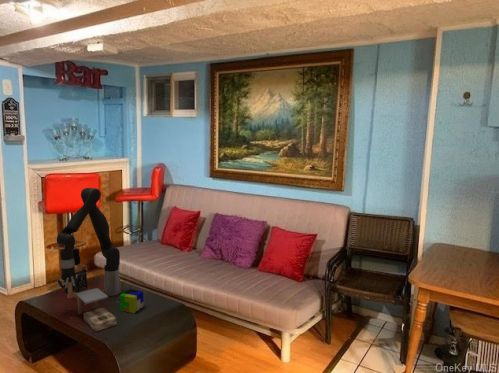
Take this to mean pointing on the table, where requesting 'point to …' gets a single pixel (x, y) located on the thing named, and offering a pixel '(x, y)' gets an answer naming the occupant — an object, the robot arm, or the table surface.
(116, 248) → the robot arm
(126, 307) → the puzzle toy
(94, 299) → the grey small table
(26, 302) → the table surface
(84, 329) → the table surface
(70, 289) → the peg
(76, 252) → the whiskey bottle
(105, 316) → the socket block
